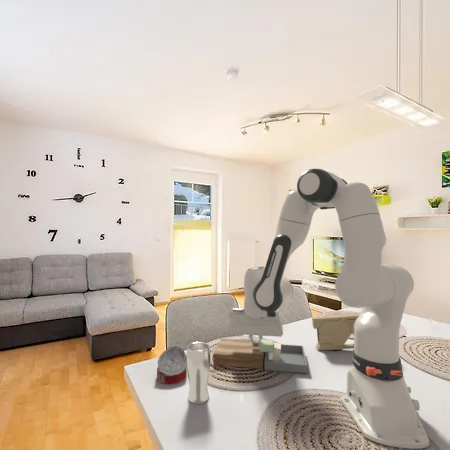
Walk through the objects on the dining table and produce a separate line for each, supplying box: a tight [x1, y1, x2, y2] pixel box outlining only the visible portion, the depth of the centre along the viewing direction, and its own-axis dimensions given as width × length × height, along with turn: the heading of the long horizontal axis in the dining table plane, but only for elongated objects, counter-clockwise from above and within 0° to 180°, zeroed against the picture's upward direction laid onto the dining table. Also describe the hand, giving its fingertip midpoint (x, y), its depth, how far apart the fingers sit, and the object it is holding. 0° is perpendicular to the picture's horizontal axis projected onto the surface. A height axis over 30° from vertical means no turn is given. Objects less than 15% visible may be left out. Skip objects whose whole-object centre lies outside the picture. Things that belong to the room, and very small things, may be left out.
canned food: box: [156, 346, 188, 385], centre depth 94 cm, size 11×10×10 cm
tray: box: [264, 343, 309, 375], centre depth 104 cm, size 16×14×3 cm
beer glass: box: [186, 341, 211, 405], centre depth 82 cm, size 7×7×15 cm
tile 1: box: [260, 339, 274, 353], centre depth 105 cm, size 5×5×2 cm
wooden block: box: [212, 338, 265, 370], centre depth 107 cm, size 14×18×4 cm
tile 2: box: [272, 342, 282, 362], centre depth 104 cm, size 5×5×2 cm
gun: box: [311, 313, 360, 352], centre depth 113 cm, size 24×3×15 cm, turn 84°
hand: (256, 346), depth 105 cm, fingers closed
